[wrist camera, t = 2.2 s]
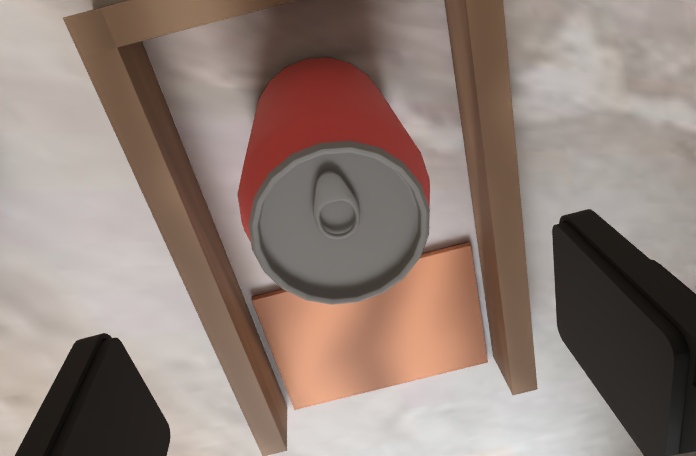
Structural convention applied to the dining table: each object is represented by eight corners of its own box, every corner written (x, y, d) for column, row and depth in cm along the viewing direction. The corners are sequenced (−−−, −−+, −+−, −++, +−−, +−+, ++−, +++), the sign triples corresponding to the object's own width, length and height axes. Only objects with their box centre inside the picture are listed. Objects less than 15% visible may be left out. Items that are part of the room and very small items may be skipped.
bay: (467, -90, 23) (493, -97, 20) (515, 350, 35) (537, 389, 32) (92, 9, 24) (62, 17, 20) (265, 412, 35) (262, 456, 32)
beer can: (373, 40, 25) (433, 101, 15) (395, 167, 28) (458, 294, 18) (238, 72, 25) (200, 155, 15) (274, 195, 28) (265, 338, 18)
